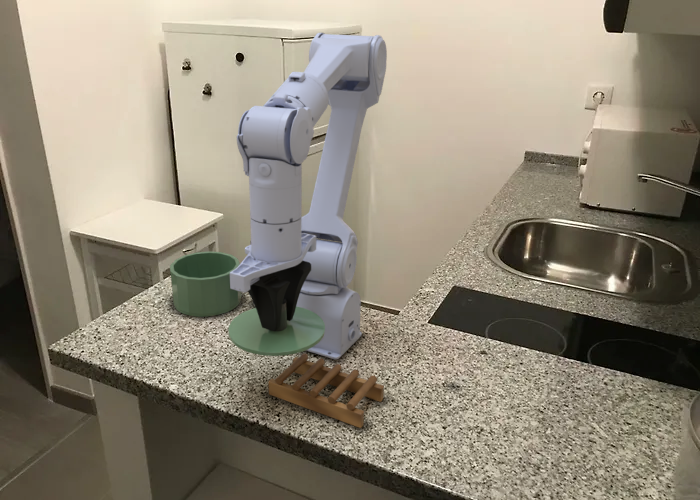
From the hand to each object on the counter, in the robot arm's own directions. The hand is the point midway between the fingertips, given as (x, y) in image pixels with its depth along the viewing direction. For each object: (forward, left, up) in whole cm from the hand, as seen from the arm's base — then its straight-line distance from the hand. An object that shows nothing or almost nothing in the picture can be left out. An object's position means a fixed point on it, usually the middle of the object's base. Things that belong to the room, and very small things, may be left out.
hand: (277, 323), depth 70 cm
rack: (-6, -2, -10) cm, 12 cm away
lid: (0, 0, -1) cm, 1 cm away
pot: (+24, -14, -10) cm, 29 cm away
